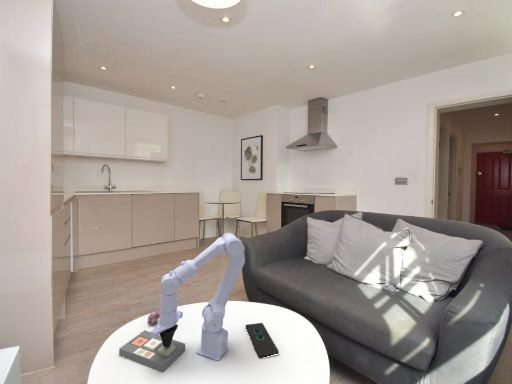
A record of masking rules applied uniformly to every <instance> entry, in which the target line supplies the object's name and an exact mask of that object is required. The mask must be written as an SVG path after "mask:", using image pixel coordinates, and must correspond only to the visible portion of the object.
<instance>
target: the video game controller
mask: <svg viewBox="0 0 512 384" xmlns="http://www.w3.org/2000/svg"><path fill="white" fill-rule="evenodd" d="M159 317H160V309H159V310H156V311H152V312H151V313H150V314H149V315H148V317H147V321H148V322H149V323H151V322H152V323H154V324H157V323H158V321H157V319H158V318H159Z"/></svg>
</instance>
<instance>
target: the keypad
mask: <svg viewBox="0 0 512 384" xmlns="http://www.w3.org/2000/svg"><path fill="white" fill-rule="evenodd" d="M139 337H143V338H146V339H149V341H150V340H151V339H152V337H151V331H148V330H143V331H142V332H140V333H139V334H138V335H136V336H135V337H133V338H132V339H130V340H129V341H128V342H126V343H125V344H124V345H122V346H120V347H119V348H118V350H119V351H118V352H119V353H118V355H119V356H120V355H122V356H124V357H123V358H125V357H126V358H125V359H127V358H129V359H128V360H130V361H133V362H136V363H138V364H140V365H144V366H146V367H148V368H151V369H153V370H156V371H159V372H161V373H164V372H165V371H166V370H167V369H168V368H169V367H170V366H171V365H172V364H173V363H174V361H176V360H177V359H178V358H179V357H181V355H182V354H183V353H184V352H185V350H186V343H184V342H181V341H178V340H176V339H172V342H171V345H174V346H176V350H175V351H174V352H173V353H172V354H171V355H170V356H169V357H165V356H163V355H160V354H157V350H158V349H159V348H161V347H162V346H163V343H162V346H160V347H159V348H158V349H157V350H156V351H155V352H152V351H149V350H146V349H144V345H145V344H146V343H145V344H144V345H143V346H141V347H138V346H135V345H132V344H131V343H132V342H133V341H134V340H136V339H137V338H139ZM153 339H156V340H159V341H162V339H161V336H160V334H158V335H157V338H153ZM149 341H148V342H149ZM122 356H121V357H122Z"/></svg>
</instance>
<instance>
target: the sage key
mask: <svg viewBox="0 0 512 384" xmlns="http://www.w3.org/2000/svg"><path fill="white" fill-rule="evenodd" d="M175 350H176V346H174V345H170V346H169V347H168V348H166V347H163V346H162V347H161V348H159V349H158V350H157V354H160V355H163V356H165V357H169V356H170V355H171V354H172V353H173V352H174V351H175Z"/></svg>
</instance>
